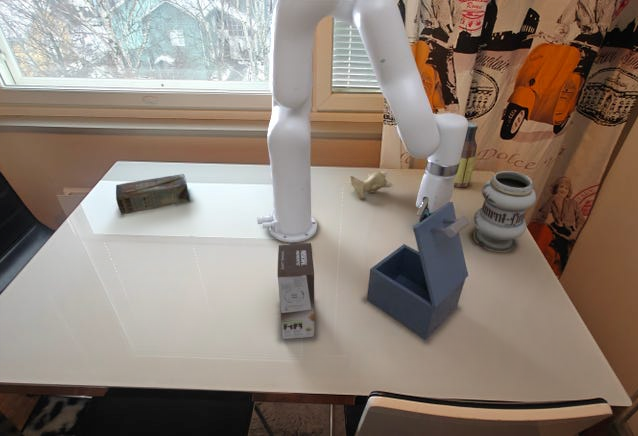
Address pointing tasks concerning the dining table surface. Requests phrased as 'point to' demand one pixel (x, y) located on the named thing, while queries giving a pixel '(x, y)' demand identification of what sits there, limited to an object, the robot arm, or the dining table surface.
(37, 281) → the dining table surface
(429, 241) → the lid
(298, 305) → the coffee box
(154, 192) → the beverage carton
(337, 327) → the dining table surface
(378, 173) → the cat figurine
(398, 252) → the compartment
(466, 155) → the sauce bottle
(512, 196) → the apothecary jar
